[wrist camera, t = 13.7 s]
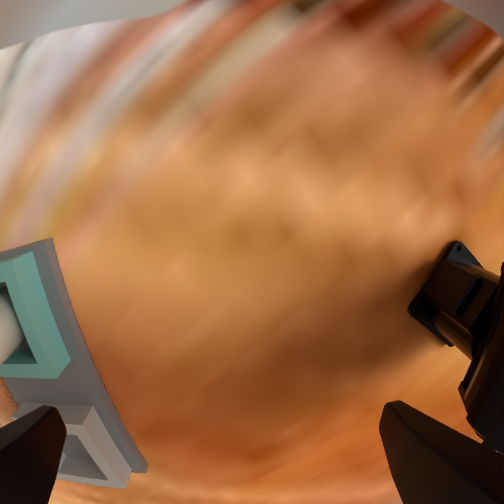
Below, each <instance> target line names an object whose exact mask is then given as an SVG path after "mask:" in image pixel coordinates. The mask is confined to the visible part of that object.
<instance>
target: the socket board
mask: <svg viewBox="0 0 504 504" xmlns="http://www.w3.org/2000/svg"><path fill="white" fill-rule="evenodd" d="M2 287H7V288H8V291H9V294H10V297H11V300H12V303H13V306H14V309H15V311H16V314H17V317H18V319H19V322H20V325H21V327H22V330H23V332H24V335H25V337H26V339H27V340H26V341H25V342H24V343H23V344H22V345H21V346H20V347H19V348H18V349H17V350H16V351H15V352H14V353H13V354H12V355H10V356H9V357H8V358H7V359H6V360H5V361H4V362H3V363H2V364H1V365H0V377H2V379H3V381H4V383H5V385H6V387H7V388H8V390H9V392H10V394H11V396H12V397H13V399H14V401H15V403H16V404H17V406H18V408H17V409H16V411H15V412H14V413H13V414H12V416H11V419H12V420H13V421H15V420H16V419H18V418H20V417H22V416H24V415H26V414H27V413H29V412H31V411H33V410H35V409H37V408H38V407H40V406H42V405H49V406H54V407H56V408H57V409H58V411H59V413H60V415H61V417H62V419H63V421H64V424H65V426H66V429H67V435H66V439H65V443H64V448H63V452H62V456H61V460H60V465H59V469H58V473H57V477H56V479H61V480H66V481H71V482H77V483H82V484H89V485H96V486H103V487H112V488H121V489H126V488H127V484H128V481H129V478H130V474H131V472H135V473H146V471H147V467H148V465H147V463H146V462H145V460H144V458H143V457H142V455H141V454H140V452H139V450H138V448H137V447H136V445H135V443H134V442H133V440H132V438H131V436H130V435H129V433H128V431H127V429H126V427H125V426H124V424H123V422H122V420H121V418H120V416H119V414H118V413H117V411H116V409H115V407H114V405H113V403H112V401H111V399H110V397H109V395H108V393H107V390H106V388H105V386H104V384H103V382H102V380H101V378H100V375H99V373H98V371H97V369H96V367H95V364H94V362H93V360H92V357H91V355H90V352H89V350H88V348H87V345H86V343H85V340H84V338H83V335H82V332H81V330H80V327H79V324H78V322H77V319H76V316H75V313H74V311H73V308H72V305H71V302H70V299H69V296H68V293H67V290H66V286H65V283H64V280H63V277H62V273H61V270H60V266H59V263H58V259H57V255H56V252H55V248H54V244H53V240H52V238H49V239H46V240H42V241H38V242H35V243H31V244H28V245H24V246H21V247H17V248H14V249H10V250H7V251H4V252H0V288H2Z"/></svg>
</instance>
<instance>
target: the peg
mask: <svg viewBox="0 0 504 504" xmlns="http://www.w3.org/2000/svg"><path fill="white" fill-rule="evenodd" d="M26 340H27V339H26V337H25V335H24V332H23V330H22V327H21V325H20V322H19V319H18V317H17V314H16V311H15V309H14V306H13V303H12V300H11V297H10V294H9V291H8V288H7V287H2V288H0V365H1V364H2V363H3V362H4V361H5V360H6V359H7V358H8V357H9V356H10V355H12V354H13V353H14V352H15V351H16V350H17V349H18V348H19V347H20V346H21V345H22V344H23V343H24V342H25V341H26Z"/></svg>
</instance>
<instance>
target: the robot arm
mask: <svg viewBox="0 0 504 504" xmlns="http://www.w3.org/2000/svg"><path fill="white" fill-rule="evenodd" d="M457 246H458V249H457V250H456V248H457ZM500 271H501V276H498V275H496V274H494V273H492V272H489V271H487V270H485V269H484V268H483V267H482V266H481V264H480V263H479V262H478V261H477V259H476V258H475V257H474V256H473V255H472V253H471V252H470V251H469V250H468V249H467V247H466V246H465V245H464V244H463V243H462V242H460V241H457V240H456V241H454V242H453V243H452V245H451V246H450V248H449V249H448V251H447V252H446V254H445V255H444V257H443V258H442V260H441V261H440V263H439V264H438V266H437V267H436V269H435V270H434V272H433V273H432V275H431V276H430V278H429V279H428V281H427V282H426V283H425V285H424V286H423V288H422V289H421V290H420V292H419V293H418V295H417V296H416V297H415V299H414V300H413V301H412V303H411V304H410V305H409V307H408V313H409V314H410V315H411V316H412V317H413V318H415V319H416V320H417V321H418V322H420V323H421V324H422V325H423V326H425V327H426V328H427V329H428V330H429V331H431V332H432V333H433V334H434V335H436V336H437V337H438V338H439V339H440V340H442V341H443V342H444V343H445V344H447V345H448V346H449V347H452V346H454V345H455V346H456V347H457V348H458V349H459V350H460V351H461V352H463V353H464V354H465V355H466V356H467V357H468V358H469V359H470V360H471V364H470V366H469V368H468V370H467V373H466V375H465V377H464V379H463V381H461V383H460V385H459V387H458V391H459V393H460V396H461V398H462V401H463V403H464V406H465V409H466V411H467V416H466V419H467V422H468V423H469V424H470V426H471V427H472V428H473V430H474V431H475V432H476V434H477V435H478V436H479V437H480V438H482V439H483V442H482V444H481V443H479V442H477V441H475V440H473V439H471V438H469V437H467V436H465V435H463V434H461V433H459V432H458V431H456V430H454V429H452V428H450V427H448V426H446V425H444V424H442V423H441V422H439V421H437V420H435V419H433V418H431V417H430V416H428V415H426V414H424V413H422V412H420V411H419V410H417V409H415V408H413V407H411V406H410V405H408V404H406V403H404V402H402V401H400V400H397V401H392V402H388V403H386V404H385V406H384V408H383V412H382V416H381V420H380V423H379V432H380V435H381V439H382V442H383V446H384V449H385V453H386V457H387V460H388V464H389V468H390V471H391V475H392V477H393V480H394V483H395V485H396V487H397V490H398V492H399V495H400V497H401V500H402V502H403V504H504V455H503V454H504V262H502V266H501V270H500ZM415 308H416V310H415V311H414V312H413V310H414V309H415ZM66 435H67V429H66V426H65V424H64V421H63V419H62V417H61V415H60V413H59V411H58V409H57V408H56V407H54V406H49V405H42V406H40V407H38V408H37V409H35V410H33V411H31V412H29V413H27V414H26V415H24V416H22V417H20V418H18V419H16V420H15V421H13V422H11V423H9V424H7V425H5V426H3V427H1V428H0V504H48V502H49V498H50V495H51V492H52V489H53V486H54V483H55V480H56V477H57V473H58V469H59V465H60V460H61V456H62V452H63V448H64V443H65V439H66ZM493 449H494V450H493ZM495 450H497V451H499V452H500V453H499V452H496V451H495ZM501 453H502V454H501Z"/></svg>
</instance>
